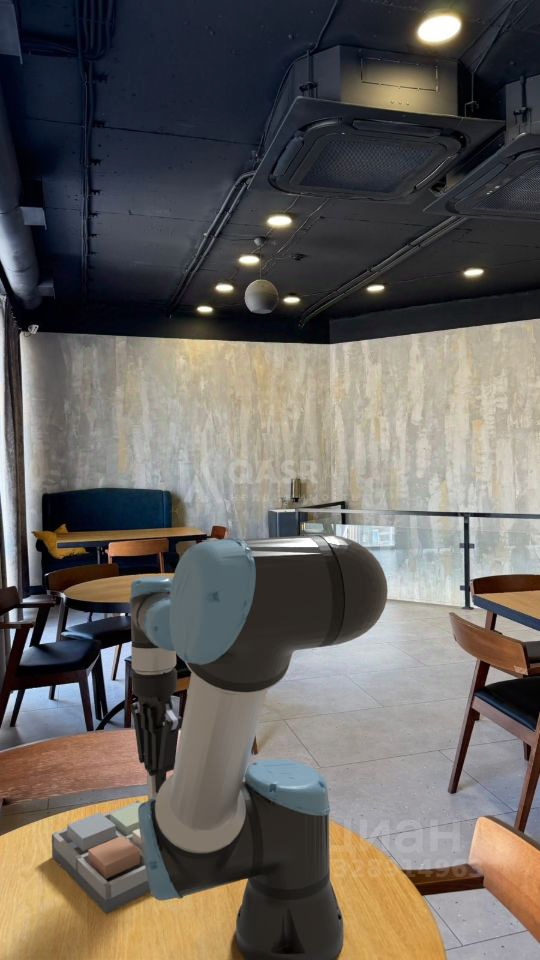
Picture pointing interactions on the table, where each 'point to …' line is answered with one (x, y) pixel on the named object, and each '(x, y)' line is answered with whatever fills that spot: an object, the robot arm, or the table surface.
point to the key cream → (137, 838)
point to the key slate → (91, 831)
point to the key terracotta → (113, 856)
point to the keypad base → (98, 888)
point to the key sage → (126, 819)
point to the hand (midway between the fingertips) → (157, 809)
